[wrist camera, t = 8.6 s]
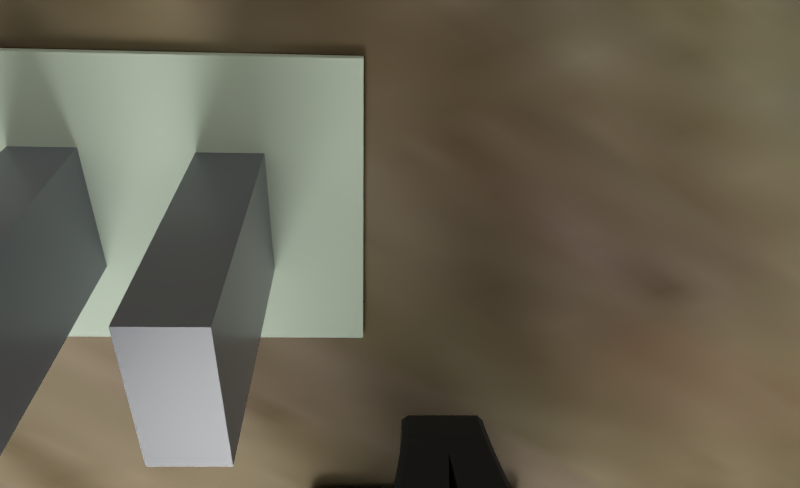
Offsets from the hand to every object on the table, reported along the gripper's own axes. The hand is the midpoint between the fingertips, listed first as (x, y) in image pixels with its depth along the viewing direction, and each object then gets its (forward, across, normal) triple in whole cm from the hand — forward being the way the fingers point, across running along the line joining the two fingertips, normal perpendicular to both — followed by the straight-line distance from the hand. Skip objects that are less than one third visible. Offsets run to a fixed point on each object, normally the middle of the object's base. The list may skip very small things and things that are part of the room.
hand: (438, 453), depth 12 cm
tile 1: (+8, +5, 0) cm, 10 cm away
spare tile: (+8, +10, 0) cm, 13 cm away
